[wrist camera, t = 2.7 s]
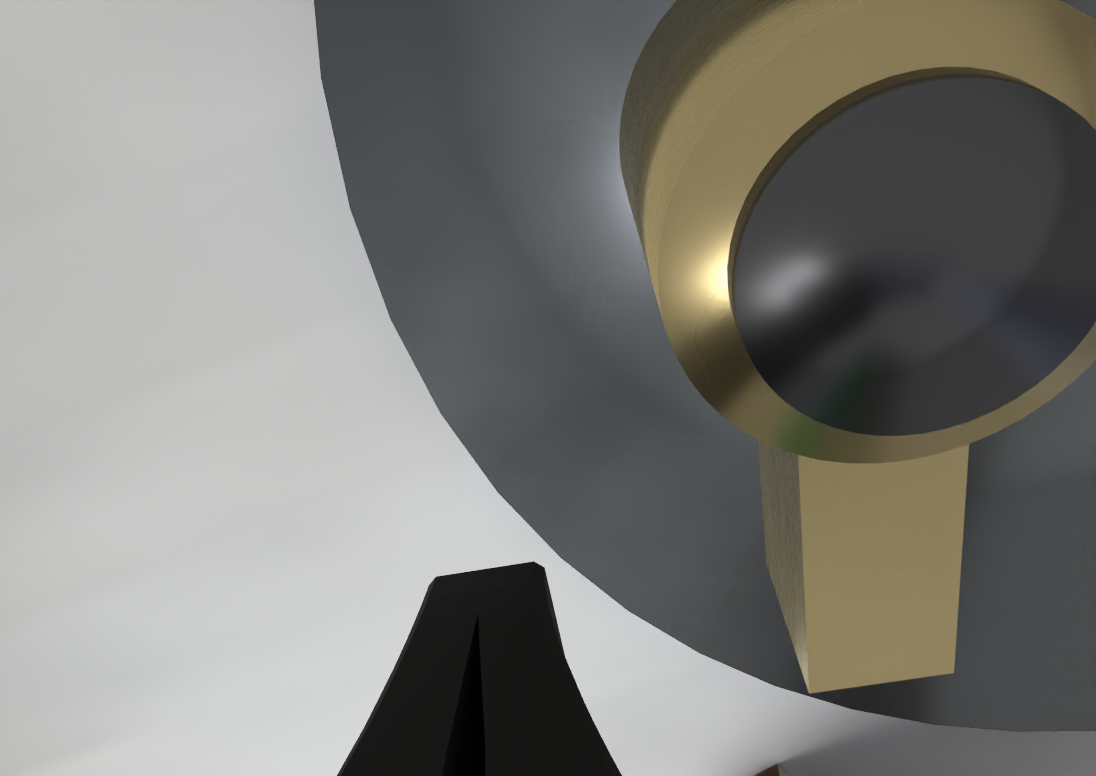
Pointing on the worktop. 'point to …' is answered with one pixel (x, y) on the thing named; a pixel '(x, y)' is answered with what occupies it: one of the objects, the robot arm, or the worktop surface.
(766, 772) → the food container
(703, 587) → the tribrach plate
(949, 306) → the knob
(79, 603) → the worktop surface
